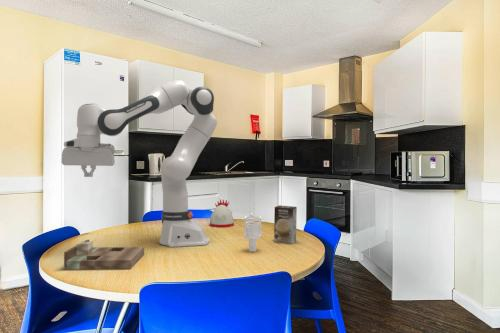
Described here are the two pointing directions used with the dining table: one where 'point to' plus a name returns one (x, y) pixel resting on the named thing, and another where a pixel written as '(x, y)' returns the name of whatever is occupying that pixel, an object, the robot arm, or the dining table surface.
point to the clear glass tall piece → (252, 230)
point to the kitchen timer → (221, 216)
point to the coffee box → (285, 224)
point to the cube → (84, 248)
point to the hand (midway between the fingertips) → (88, 176)
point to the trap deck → (103, 258)
